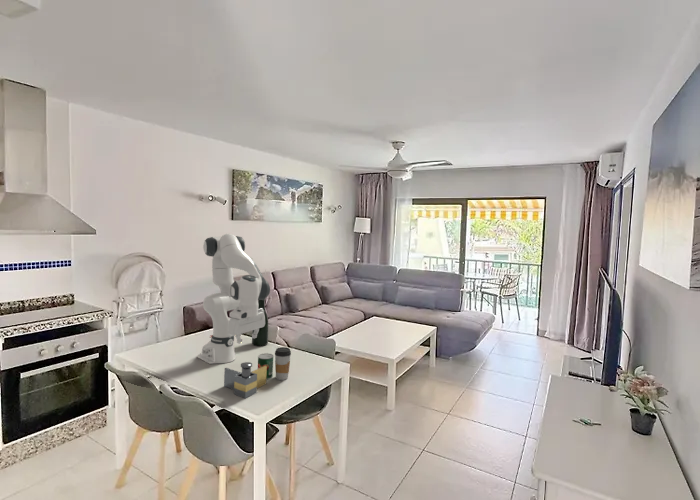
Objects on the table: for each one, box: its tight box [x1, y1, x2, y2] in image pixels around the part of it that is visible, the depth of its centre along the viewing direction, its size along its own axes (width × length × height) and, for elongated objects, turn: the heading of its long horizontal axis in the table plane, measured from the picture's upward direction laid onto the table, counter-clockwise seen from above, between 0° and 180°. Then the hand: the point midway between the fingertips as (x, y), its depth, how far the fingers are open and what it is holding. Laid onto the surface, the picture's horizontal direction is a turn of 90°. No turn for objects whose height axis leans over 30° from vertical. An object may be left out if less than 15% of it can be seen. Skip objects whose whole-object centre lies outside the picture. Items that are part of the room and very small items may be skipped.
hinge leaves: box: [223, 366, 267, 399], centre depth 183 cm, size 17×17×9 cm
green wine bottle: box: [251, 298, 269, 347], centre depth 246 cm, size 10×10×33 cm
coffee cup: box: [274, 346, 292, 381], centre depth 196 cm, size 8×8×15 cm
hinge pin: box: [240, 361, 253, 378], centre depth 176 cm, size 5×5×14 cm
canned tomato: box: [257, 352, 275, 380], centre depth 196 cm, size 8×8×11 cm
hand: (247, 340), depth 175 cm, fingers open, 8 cm apart
